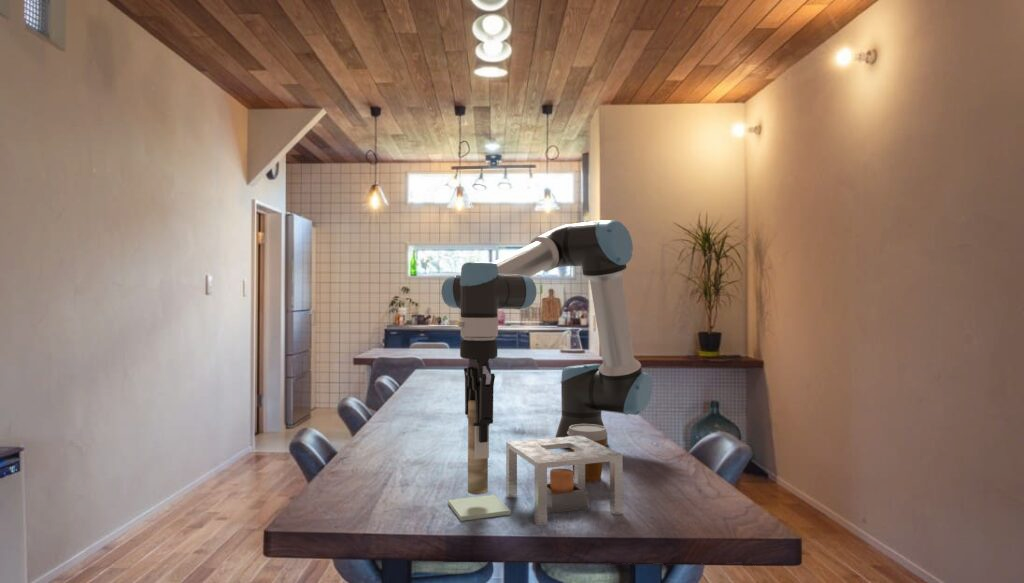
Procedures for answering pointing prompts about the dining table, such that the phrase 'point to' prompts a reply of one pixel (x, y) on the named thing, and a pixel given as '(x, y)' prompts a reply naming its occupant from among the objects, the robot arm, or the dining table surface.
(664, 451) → the dining table surface
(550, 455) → the stand
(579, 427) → the disposable coffee cup
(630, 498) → the dining table surface
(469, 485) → the rod
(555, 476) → the button
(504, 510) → the pad
